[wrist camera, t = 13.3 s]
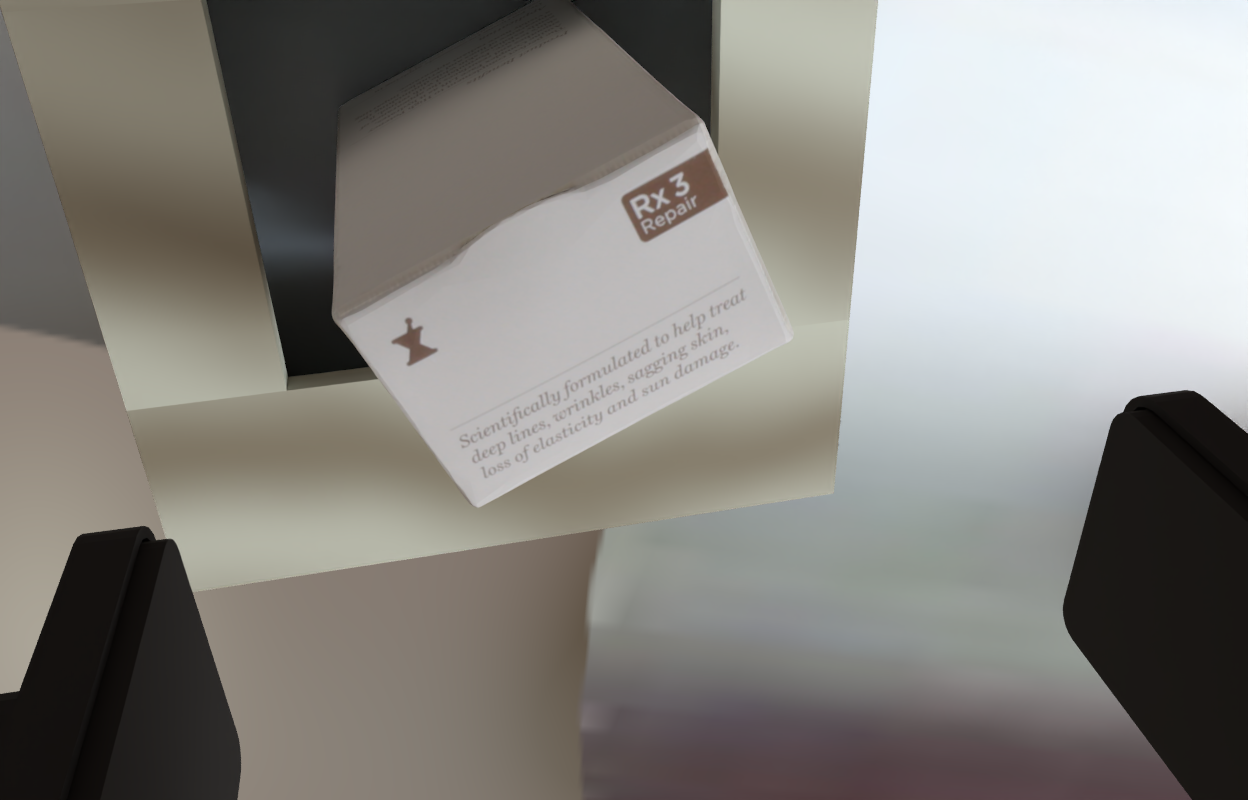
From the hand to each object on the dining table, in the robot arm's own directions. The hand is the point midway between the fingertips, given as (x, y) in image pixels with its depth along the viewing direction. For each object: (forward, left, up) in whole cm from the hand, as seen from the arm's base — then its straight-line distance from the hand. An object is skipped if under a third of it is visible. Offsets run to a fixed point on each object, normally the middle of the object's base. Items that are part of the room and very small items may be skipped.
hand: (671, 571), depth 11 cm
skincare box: (0, 0, -18) cm, 18 cm away
